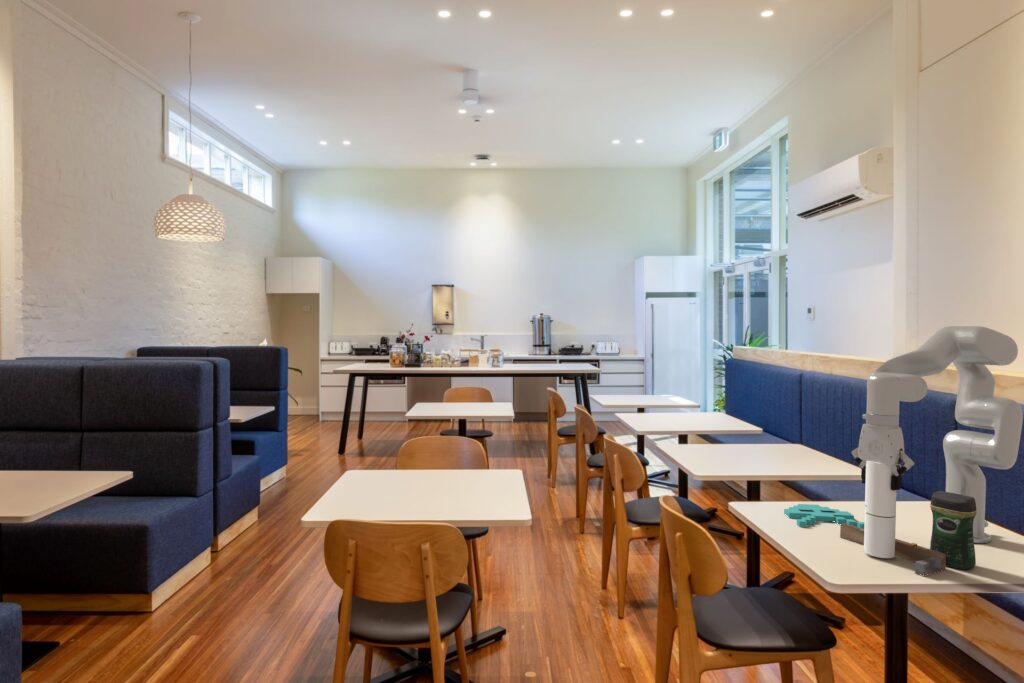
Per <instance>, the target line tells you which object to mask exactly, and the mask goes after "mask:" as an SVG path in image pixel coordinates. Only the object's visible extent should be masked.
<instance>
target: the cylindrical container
mask: <svg viewBox="0 0 1024 683" xmlns="http://www.w3.org/2000/svg"><path fill="white" fill-rule="evenodd" d="M892 475H894V474H893V472H892V470H891V466H889V465H885V464H882V463H877V462H872V461H866V483H865V484H864V485H865V489H864V490H865V492H864V523H865V524H864V545H863V552H864V553H865V554H867V555H868V556H872V557H876V558H879V559H880V558H881V559H893V558H895V557H896V556H895V539H896V528H897V527H896V521H897V520H896V519H897V490H895V491H893V490H891V476H892Z"/></svg>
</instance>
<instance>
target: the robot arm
mask: <svg viewBox="0 0 1024 683" xmlns="http://www.w3.org/2000/svg"><path fill="white" fill-rule="evenodd" d="M1018 352H1019V348H1018V345H1017V342H1016V341H1015V339H1013V338H1012V337H1011V336H1009V335H1008V334H1004V333H1002V332H999V331H997V330H995V329H992V328H989V327H985V326H980V325H979V326H978V325H977V326H976V325H972V326H971V325H970V326H969V325H965V326H964V325H959V326H958V325H952V326H944V327H942V328H939V329H938V330H937V331H936V332H935V333H934V334H933V335H931V336H930V337H929V338H928V339H927V340H926V341H924V343H922V345H920V346H919V347H918V348H917V349H915V350H912V351H909V352H906V353H903V354H901V355H899V356H896V357H892V358H891V359H888V360H886V361H885V362H883V363H881V364H880V365H879V366H878V367H876V369H875V370H873V371H872V372H871V374H870V375H869V376H868V377H867V380H866V381H867V382H866V412H865V413H863V414H862V415H861V417H862V419H863V420H865V423H863V424H862V426H861V430H860V434H859V441H858V446H857V447H856V448H854V449H852V450H851V452H850V454H851V455H852V456H853V458H854V459H855V462H856V463H857V464H858V467H859V469H861V475H860V479H861V483H862V484H864V485H865V483H866V461H872V462H877V463H882V464H885V465H889V466H891V470H892V472H893V474H894V475H892V476H891V490H893V491H895V490H896V491H899V490H901V487H902V483H903V482H902V481H903V478H902V476H904V475H905V473H907V472H908V471H910V469H912V468H913V466H915V462H914V461H913V460H912V458H910V457H909V456H908V455H907V454H906V452H905V441H904V434H903V430H902V427H901V426H900V402H906V403H907V402H908V403H915V402H919V401H921V400H922V399H924V398H925V396H927V394H928V390H929V389H928V384H927V381H926V380H925V379H924V378H923V377H929V376H933V375H937V374H940V373H942V372H944V371H945V370H946V369H947V368H948V367H949V366H950V365H951V364H953V365H954V367H955V369H956V371H957V374H958V378H959V382H958V389H957V394H956V395H957V396H956V400H955V401H956V402H955V410H954V418H955V420H956V422H957V423H959V424H960V425H962V426H966V427H972V428H977V429H978V428H979V429H985V430H991V431H994V434H992V433H987V432H986V433H984V432H979V431H971V430H967V429H966V430H965V429H956V430H951V431H949V432H947V433H946V434H945V435H944V437H943V440H942V448H943V453H944V460H945V473H946V474H945V492H950V493H956V494H960V495H965V496H970V497H973V498H974V499H975V502H976V509H977V513H976V516H975V517H974V520H973V538H974V544H986V543H990V542H991V540H992V536H991V535H989V534H988V533H986V532H985V528H988V527H989V522H988V521H986V519H985V518H986V516H985V515H986V497H987V496H986V494H987V492H986V490H987V480H986V476H985V474H984V473H983V471H982V469H981V468H980V466H981V467H986V468H987V467H988V468H992V469H996V470H1009V469H1011V468H1012V467H1013V466H1014V465H1015V464H1016V463H1017V459H1018V455H1019V454H1018V453H1019V447H1020V442H1021V436H1022V429H1023V421H1024V415H1023V414H1024V413H1023V410H1022V407H1021V405H1020V403H1018V401H1016V400H1015V399H1011V398H1006V397H996V396H994V395H995V386H996V380H995V377H994V375H993V374H992V372H991V371H990V370H989V368H988V367H987V366H1002V367H1003V366H1004V367H1005V366H1009V365H1011V364H1012V363H1013V362H1014V361H1015V360H1016V359H1017V358H1018V354H1019V353H1018ZM902 464H904V465H902Z"/></svg>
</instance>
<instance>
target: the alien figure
mask: <svg viewBox="0 0 1024 683" xmlns="http://www.w3.org/2000/svg"><path fill="white" fill-rule="evenodd" d="M783 511H784V512H783V514H784V515H785V514H786V515H787V516H788V517H790V518H789V519H796V518H801V519H796V526H797V527H799V528H808V526H813V525H812V524H815V523H816V524H817V521H835V522H836V523H835V522H834V523H835V524H837V523H838V524H843V523H846V524H849V525H852V526H856V527H859V528H862V529H864V524H865V521H855V515H853V514H852V513H851V512H850V511H844V510H842V511H841V510H840V509H838V508H830V507H828V506H820V505H819V504H813V503H812V504H811V503H810V504H809V503H808V504H807V503H797V505H793V506H792V507H791V506H789V507H788V508H784V509H783ZM786 515H785V516H786ZM787 516H786V517H787ZM788 517H787V518H788ZM838 524H837V525H838Z"/></svg>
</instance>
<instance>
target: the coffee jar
mask: <svg viewBox="0 0 1024 683" xmlns="http://www.w3.org/2000/svg"><path fill="white" fill-rule="evenodd" d="M929 507H930V510H931V513H932V528H931V537H930V543H929V549H931V550H934V551H938V552H941V553H944V554H946V567H949V568H953V567H954V568H953V569H960V570H971V569H974V568H975V567H976V565H977V564H976V562H977V561H976V549H975V543H974V538H973V520H974V517H975V516H976V513H977V509H976V502H975V499H974V498H973V497H970V496H965V495H960V494H956V493H950V492H946V491H943V490H938V491H935V492H933V493H932V495H931V498H930V504H929Z"/></svg>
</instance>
